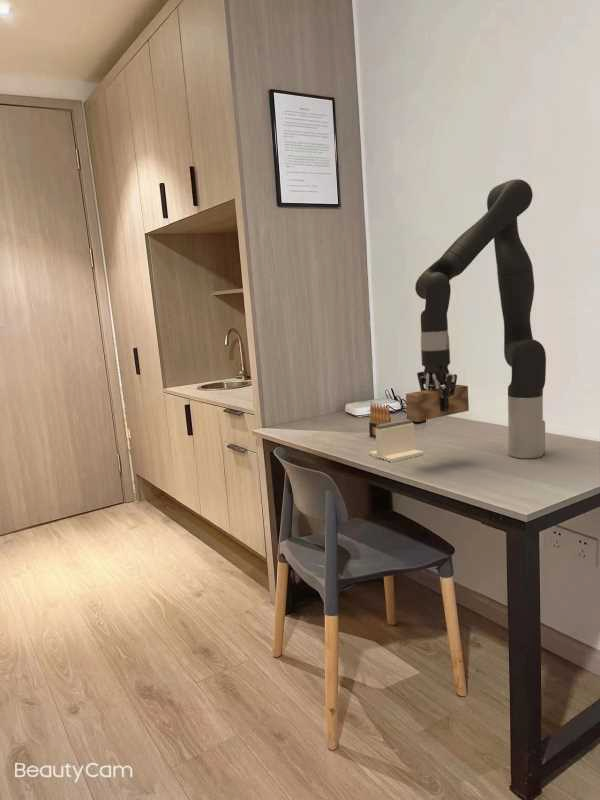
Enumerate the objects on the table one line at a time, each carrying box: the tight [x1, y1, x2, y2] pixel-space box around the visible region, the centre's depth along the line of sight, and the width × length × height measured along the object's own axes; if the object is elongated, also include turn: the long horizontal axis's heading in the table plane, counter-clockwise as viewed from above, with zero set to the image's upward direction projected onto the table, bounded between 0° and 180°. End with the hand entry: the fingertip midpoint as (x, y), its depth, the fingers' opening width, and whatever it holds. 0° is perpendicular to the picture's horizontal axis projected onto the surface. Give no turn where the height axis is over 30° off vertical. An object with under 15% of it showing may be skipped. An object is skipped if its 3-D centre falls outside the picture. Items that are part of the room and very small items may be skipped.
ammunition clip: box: [368, 402, 392, 439], centre depth 206 cm, size 11×2×12 cm, turn 30°
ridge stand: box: [368, 418, 425, 463], centre depth 184 cm, size 12×11×10 cm
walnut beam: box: [405, 384, 470, 422], centre depth 168 cm, size 18×4×7 cm, turn 119°
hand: (438, 409), depth 169 cm, fingers closed on walnut beam, 4 cm apart
